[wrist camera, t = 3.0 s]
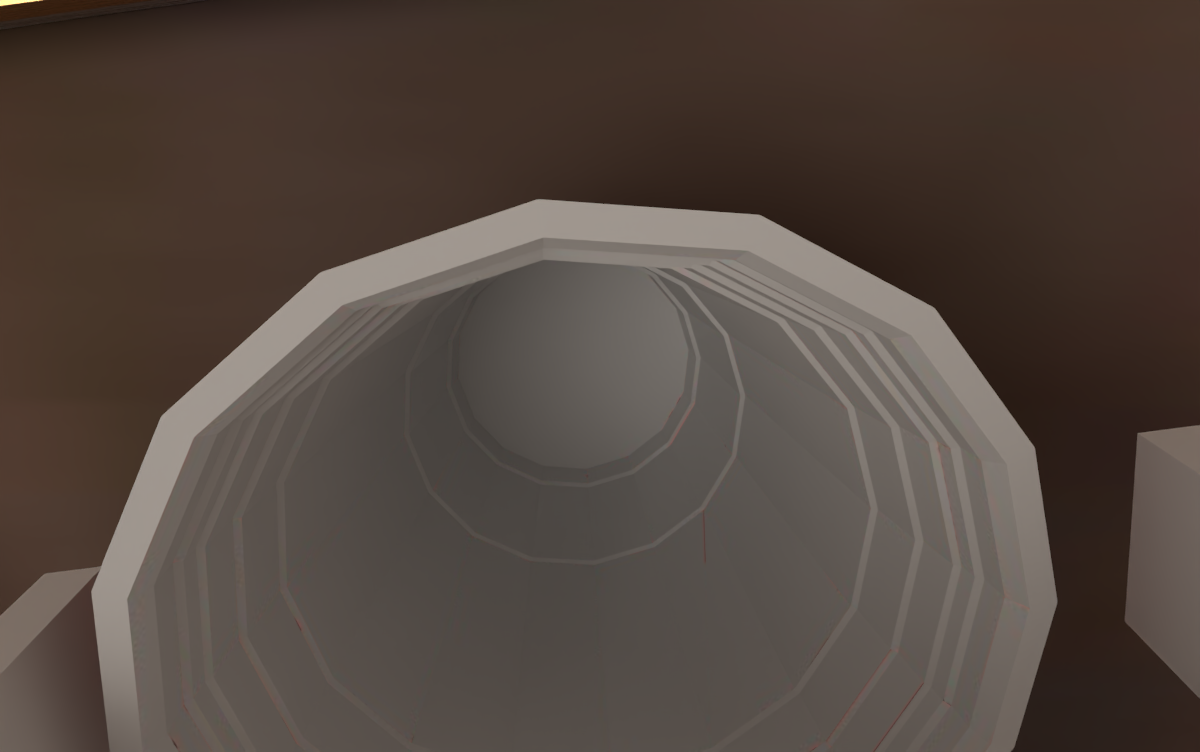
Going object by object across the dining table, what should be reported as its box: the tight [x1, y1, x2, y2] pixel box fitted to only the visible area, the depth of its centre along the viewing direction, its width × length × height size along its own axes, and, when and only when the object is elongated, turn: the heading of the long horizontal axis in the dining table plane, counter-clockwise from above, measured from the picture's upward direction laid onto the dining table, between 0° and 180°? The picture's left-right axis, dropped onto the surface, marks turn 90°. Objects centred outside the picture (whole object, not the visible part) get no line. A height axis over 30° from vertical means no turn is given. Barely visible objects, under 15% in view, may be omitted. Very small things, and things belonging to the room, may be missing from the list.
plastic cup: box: [91, 199, 1057, 752], centre depth 16 cm, size 11×11×12 cm
